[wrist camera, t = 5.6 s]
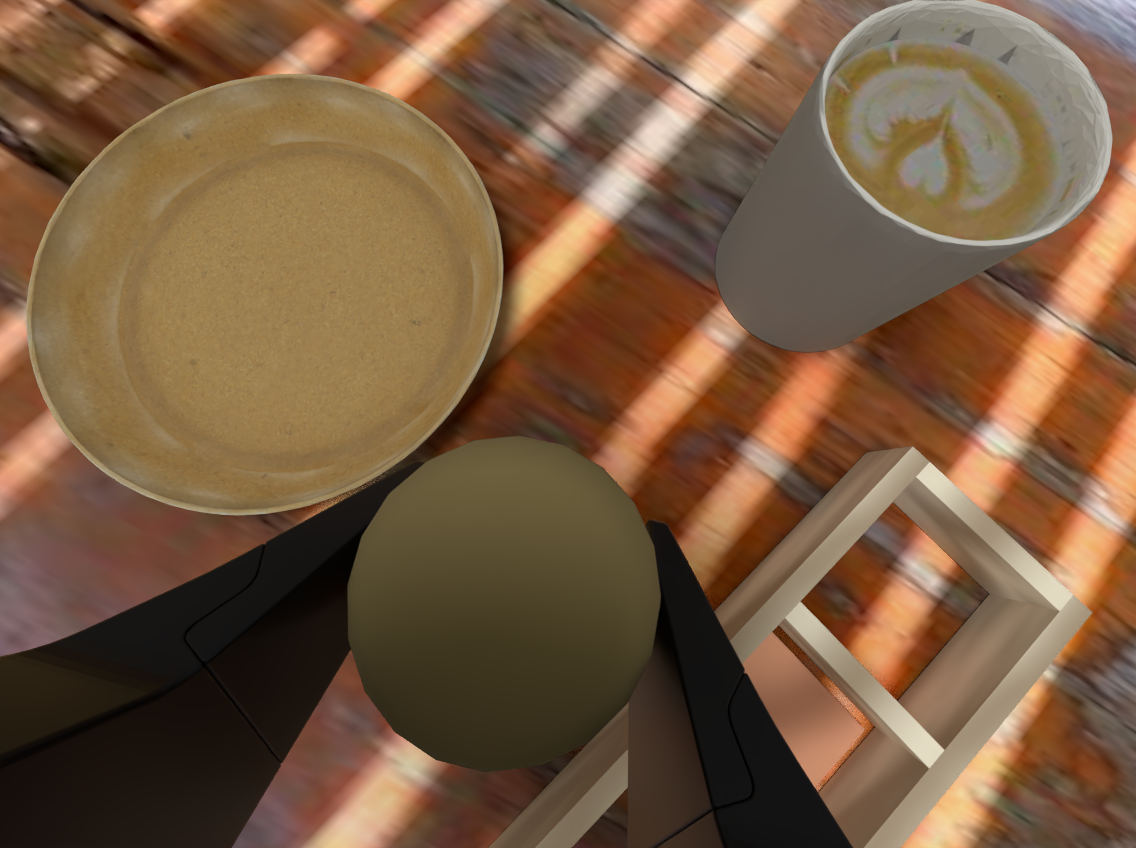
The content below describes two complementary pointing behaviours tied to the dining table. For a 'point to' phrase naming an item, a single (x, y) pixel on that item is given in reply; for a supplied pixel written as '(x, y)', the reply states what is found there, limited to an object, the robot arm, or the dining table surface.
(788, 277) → the coffee mug
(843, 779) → the rack
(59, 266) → the plant saucer
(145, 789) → the robot arm
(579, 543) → the olive chess pawn
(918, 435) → the dining table surface
